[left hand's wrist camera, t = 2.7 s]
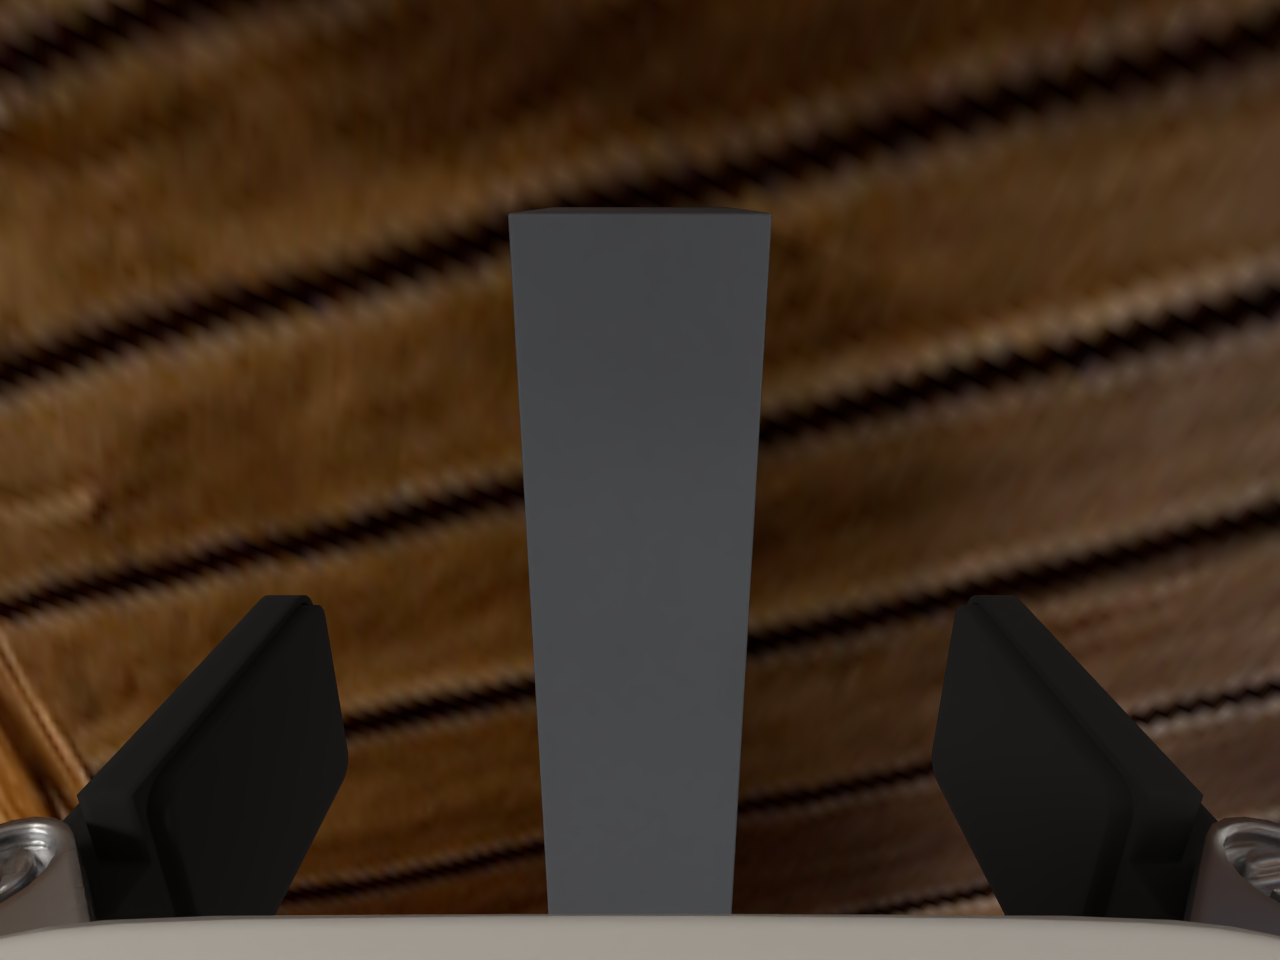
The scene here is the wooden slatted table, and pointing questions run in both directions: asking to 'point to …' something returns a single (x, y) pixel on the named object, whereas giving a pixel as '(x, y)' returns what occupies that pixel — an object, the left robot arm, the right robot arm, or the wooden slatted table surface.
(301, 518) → the wooden slatted table surface
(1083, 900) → the left robot arm
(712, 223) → the beam
